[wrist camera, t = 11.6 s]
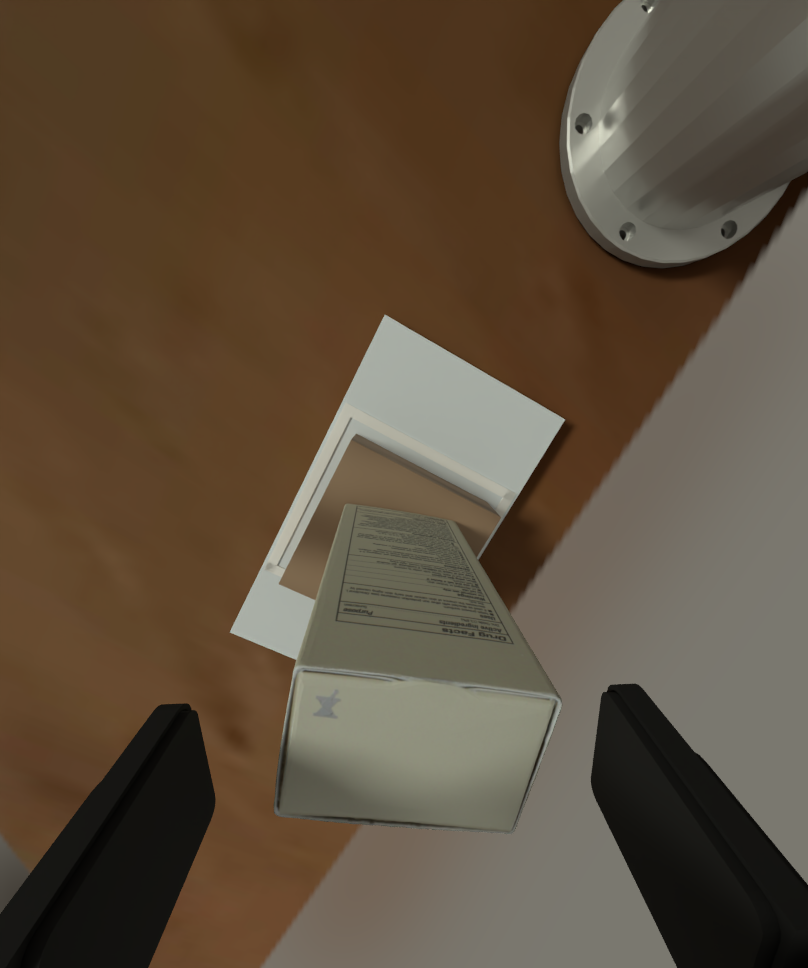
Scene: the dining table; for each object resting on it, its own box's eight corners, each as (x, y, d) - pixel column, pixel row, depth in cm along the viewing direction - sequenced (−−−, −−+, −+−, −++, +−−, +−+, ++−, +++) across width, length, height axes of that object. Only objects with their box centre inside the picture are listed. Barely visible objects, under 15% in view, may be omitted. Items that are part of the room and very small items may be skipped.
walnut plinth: (356, 433, 22) (351, 439, 19) (487, 502, 23) (501, 517, 20) (292, 560, 23) (278, 583, 21) (417, 617, 25) (421, 647, 22)
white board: (385, 318, 21) (384, 314, 20) (557, 418, 23) (566, 419, 22) (235, 623, 25) (229, 633, 24) (391, 688, 27) (391, 700, 26)
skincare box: (332, 574, 21) (254, 822, 9) (344, 499, 20) (276, 662, 8) (445, 592, 21) (519, 849, 9) (463, 520, 20) (571, 703, 8)
